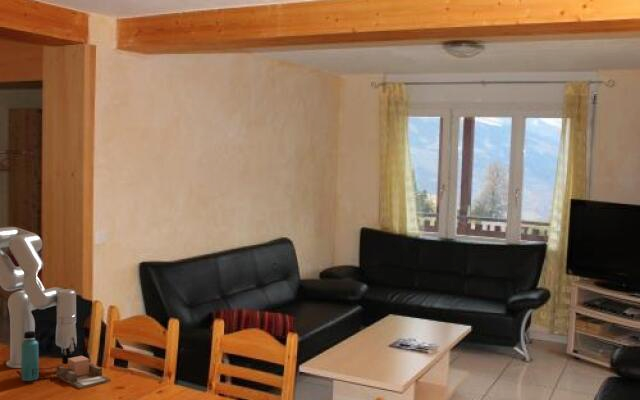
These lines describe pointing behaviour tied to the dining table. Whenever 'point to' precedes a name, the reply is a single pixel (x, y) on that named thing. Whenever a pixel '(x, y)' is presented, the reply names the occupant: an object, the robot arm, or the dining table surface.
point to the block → (79, 365)
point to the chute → (82, 376)
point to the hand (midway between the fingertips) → (66, 363)
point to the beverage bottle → (30, 357)
